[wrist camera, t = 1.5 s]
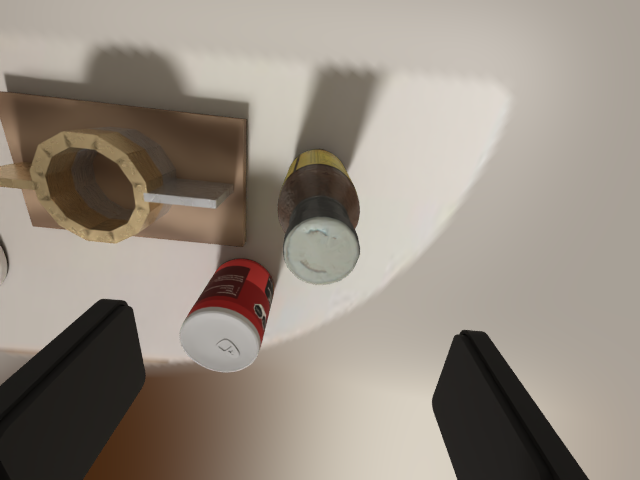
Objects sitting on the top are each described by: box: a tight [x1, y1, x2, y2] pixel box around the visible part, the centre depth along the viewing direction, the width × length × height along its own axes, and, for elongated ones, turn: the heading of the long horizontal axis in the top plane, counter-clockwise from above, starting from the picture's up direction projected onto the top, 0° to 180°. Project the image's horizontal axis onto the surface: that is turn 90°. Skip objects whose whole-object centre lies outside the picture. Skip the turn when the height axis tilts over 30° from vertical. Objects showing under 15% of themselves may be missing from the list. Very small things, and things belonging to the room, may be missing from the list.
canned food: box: [180, 259, 274, 372], centre depth 35 cm, size 8×8×11 cm
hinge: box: [0, 127, 234, 243], centre depth 30 cm, size 10×22×6 cm, turn 84°
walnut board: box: [0, 92, 247, 247], centre depth 33 cm, size 14×24×2 cm, turn 84°
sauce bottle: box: [278, 149, 360, 285], centre depth 25 cm, size 6×6×20 cm
